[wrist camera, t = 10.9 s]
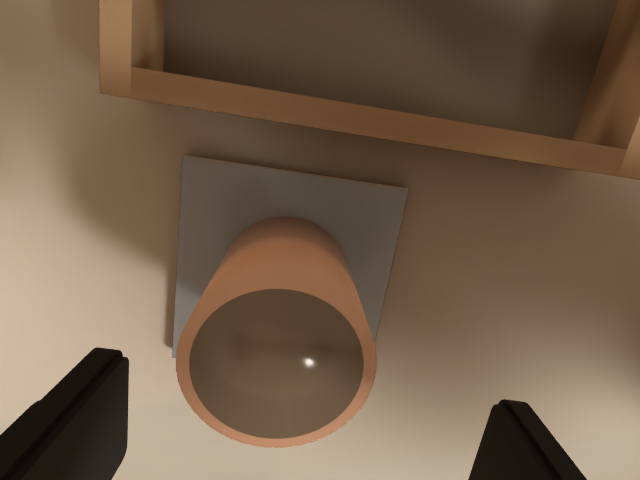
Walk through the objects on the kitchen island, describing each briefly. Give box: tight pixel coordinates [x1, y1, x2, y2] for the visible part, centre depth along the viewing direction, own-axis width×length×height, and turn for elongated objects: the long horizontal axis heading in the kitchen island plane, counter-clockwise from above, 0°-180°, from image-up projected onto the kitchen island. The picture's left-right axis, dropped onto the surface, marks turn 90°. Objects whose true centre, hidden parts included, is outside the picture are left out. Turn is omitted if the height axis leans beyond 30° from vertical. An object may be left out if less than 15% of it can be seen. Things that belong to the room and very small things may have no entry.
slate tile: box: [172, 155, 408, 358], centre depth 18 cm, size 10×10×1 cm
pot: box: [176, 217, 376, 448], centre depth 15 cm, size 6×6×7 cm
